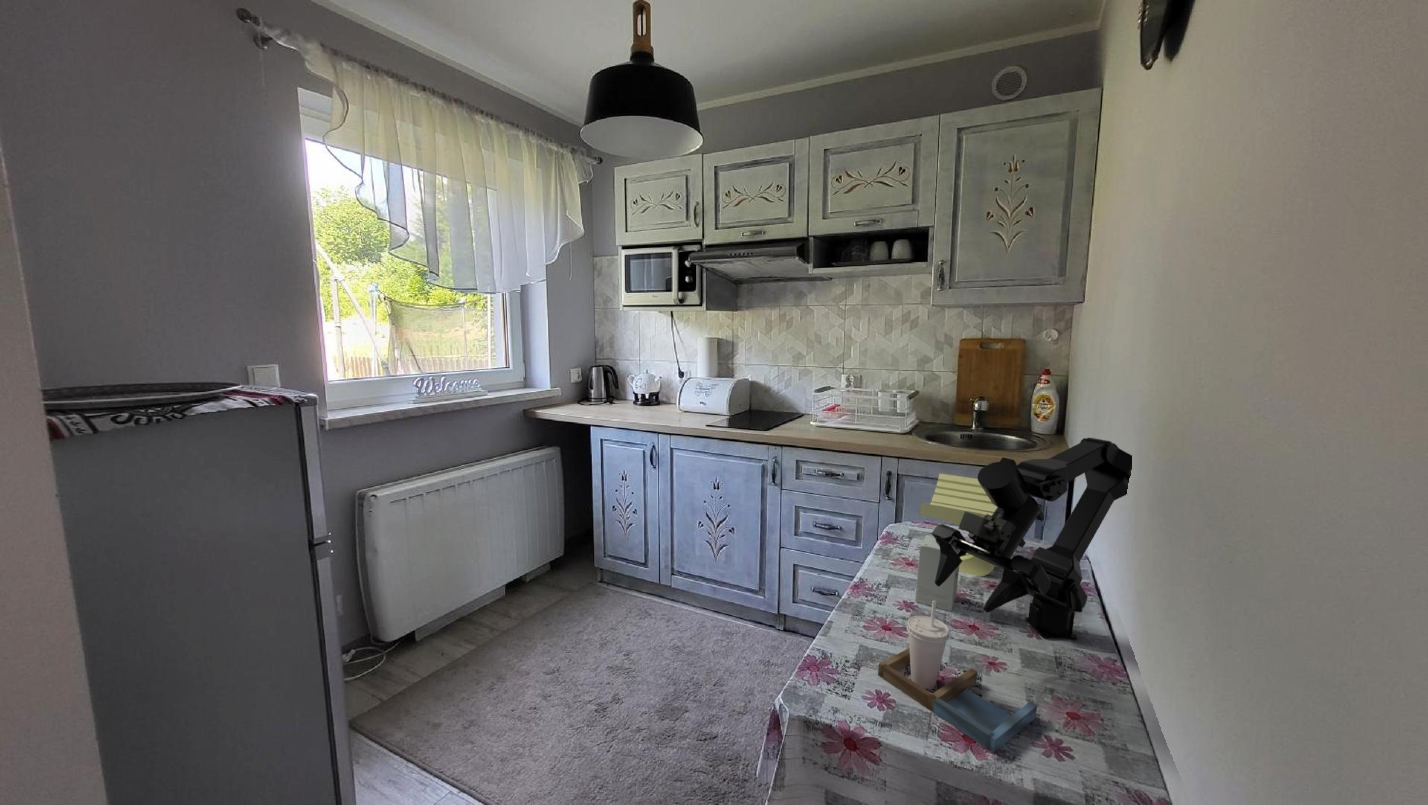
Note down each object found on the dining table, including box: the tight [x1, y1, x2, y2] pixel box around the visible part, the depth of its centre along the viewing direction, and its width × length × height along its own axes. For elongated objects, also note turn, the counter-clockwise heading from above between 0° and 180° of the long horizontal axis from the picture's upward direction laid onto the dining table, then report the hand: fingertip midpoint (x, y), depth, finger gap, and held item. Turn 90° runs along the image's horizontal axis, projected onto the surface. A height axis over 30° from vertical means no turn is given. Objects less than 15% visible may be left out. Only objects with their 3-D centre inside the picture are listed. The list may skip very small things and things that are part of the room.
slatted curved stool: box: [919, 473, 997, 577], centre depth 129 cm, size 30×16×18 cm, turn 149°
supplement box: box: [914, 534, 960, 612], centre depth 110 cm, size 7×7×13 cm
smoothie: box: [906, 600, 951, 690], centre depth 84 cm, size 6×6×14 cm
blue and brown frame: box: [877, 647, 1038, 754], centre depth 81 cm, size 12×19×2 cm, turn 35°
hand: (959, 597), depth 86 cm, fingers open, 9 cm apart
